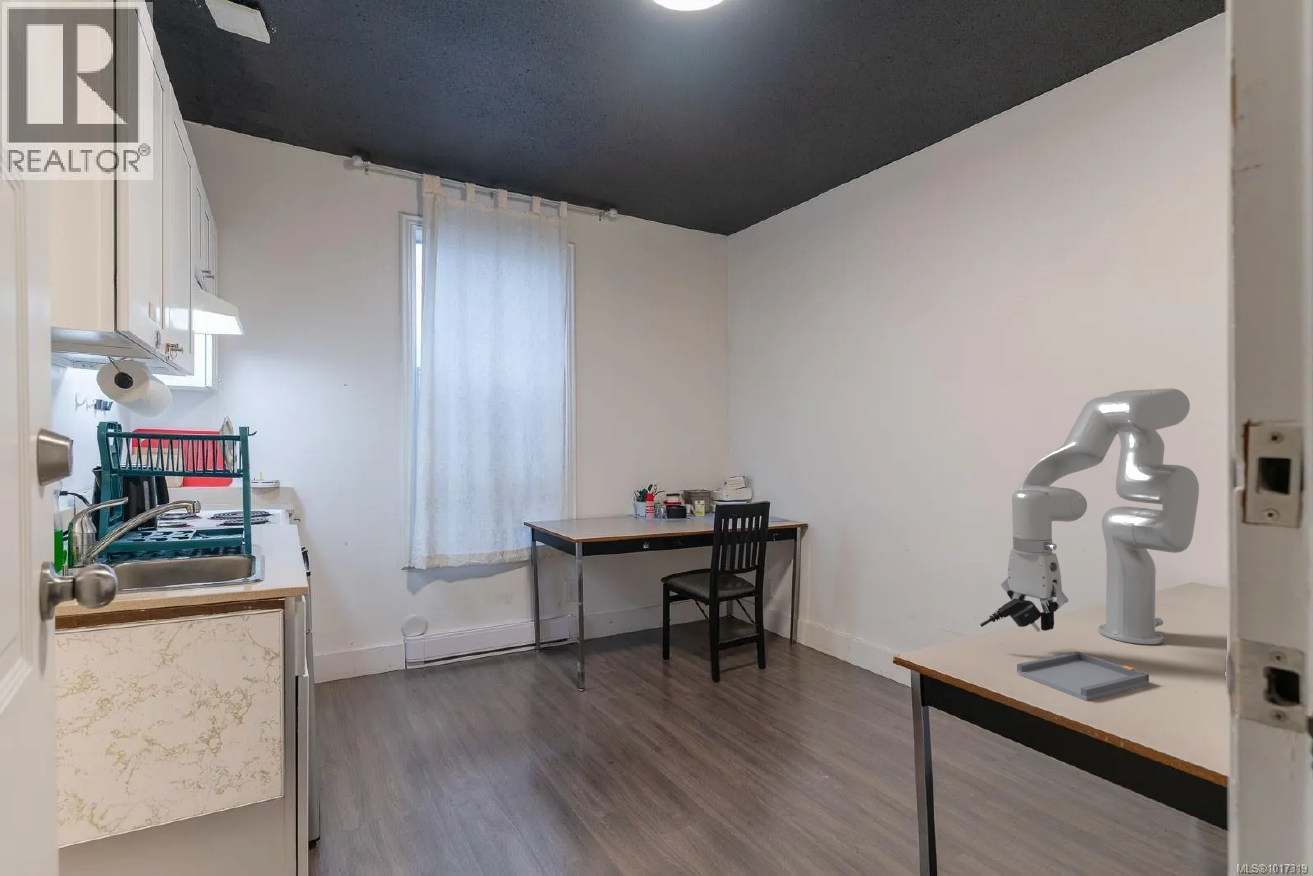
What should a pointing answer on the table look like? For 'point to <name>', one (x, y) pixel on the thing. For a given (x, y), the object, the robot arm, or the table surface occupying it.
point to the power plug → (1017, 613)
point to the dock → (1083, 675)
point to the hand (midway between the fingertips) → (1033, 624)
